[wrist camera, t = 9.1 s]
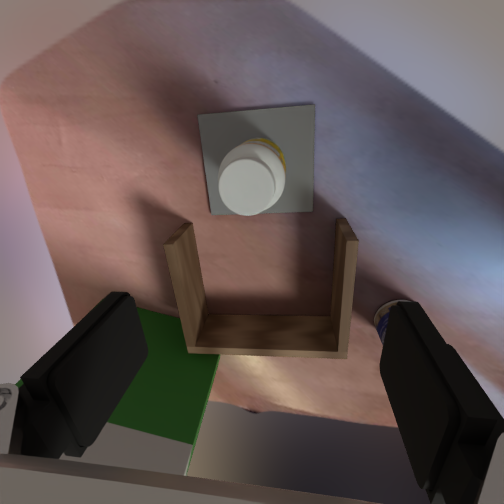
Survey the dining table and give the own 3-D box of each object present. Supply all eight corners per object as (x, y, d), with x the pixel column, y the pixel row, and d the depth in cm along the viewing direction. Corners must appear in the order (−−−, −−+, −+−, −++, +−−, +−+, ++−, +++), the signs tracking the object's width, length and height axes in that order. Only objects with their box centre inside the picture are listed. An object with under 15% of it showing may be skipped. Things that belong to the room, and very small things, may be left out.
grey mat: (314, 104, 25) (315, 104, 25) (312, 210, 29) (312, 211, 29) (198, 114, 27) (197, 114, 26) (212, 214, 31) (211, 215, 31)
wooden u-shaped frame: (345, 218, 29) (358, 240, 24) (338, 322, 35) (346, 359, 30) (184, 223, 32) (163, 244, 27) (202, 319, 38) (188, 353, 33)
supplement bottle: (247, 126, 26) (227, 131, 18) (296, 154, 27) (300, 171, 18) (224, 177, 29) (197, 203, 20) (270, 201, 29) (262, 236, 21)
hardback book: (104, 337, 42) (-91, 568, 20) (103, 298, 38) (-131, 526, 17) (217, 366, 42) (141, 631, 20) (226, 330, 38) (147, 601, 17)
